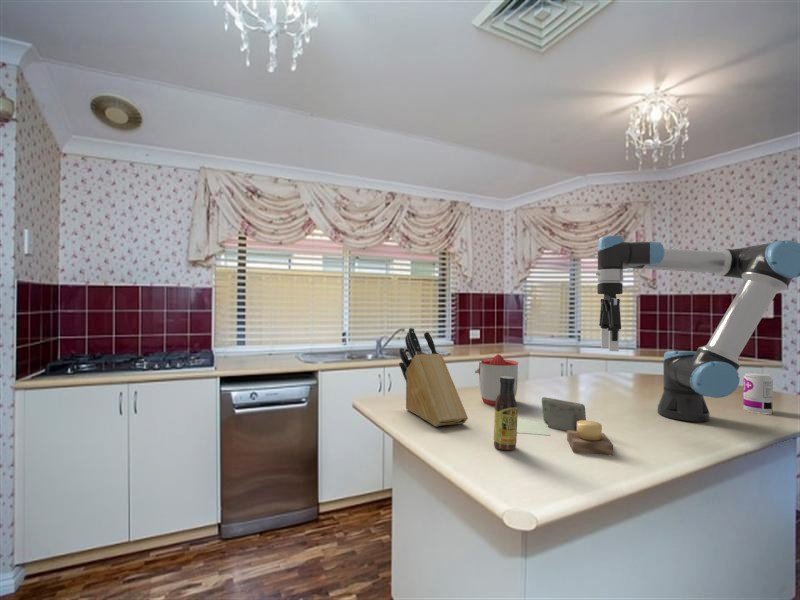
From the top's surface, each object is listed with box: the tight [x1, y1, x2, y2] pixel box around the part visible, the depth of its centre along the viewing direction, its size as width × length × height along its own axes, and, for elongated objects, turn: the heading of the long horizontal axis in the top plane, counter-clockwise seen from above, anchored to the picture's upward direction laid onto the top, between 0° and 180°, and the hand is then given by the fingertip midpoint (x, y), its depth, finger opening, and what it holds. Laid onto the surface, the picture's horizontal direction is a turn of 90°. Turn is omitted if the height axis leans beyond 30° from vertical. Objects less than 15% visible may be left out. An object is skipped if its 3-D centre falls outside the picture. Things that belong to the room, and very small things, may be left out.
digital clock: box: [541, 396, 587, 432], centre depth 131 cm, size 14×8×9 cm, turn 39°
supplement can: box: [742, 372, 774, 413], centre depth 149 cm, size 8×8×15 cm
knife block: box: [398, 327, 469, 427], centre depth 146 cm, size 11×35×31 cm, turn 23°
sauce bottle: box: [493, 376, 518, 451], centre depth 113 cm, size 7×6×20 cm
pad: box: [517, 417, 551, 437], centre depth 133 cm, size 13×17×1 cm
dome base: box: [566, 430, 614, 457], centre depth 113 cm, size 10×10×3 cm
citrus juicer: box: [474, 353, 519, 407], centre depth 162 cm, size 16×17×20 cm
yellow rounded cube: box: [576, 419, 603, 440], centre depth 113 cm, size 6×6×6 cm
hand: (609, 349), depth 134 cm, fingers open, 10 cm apart
